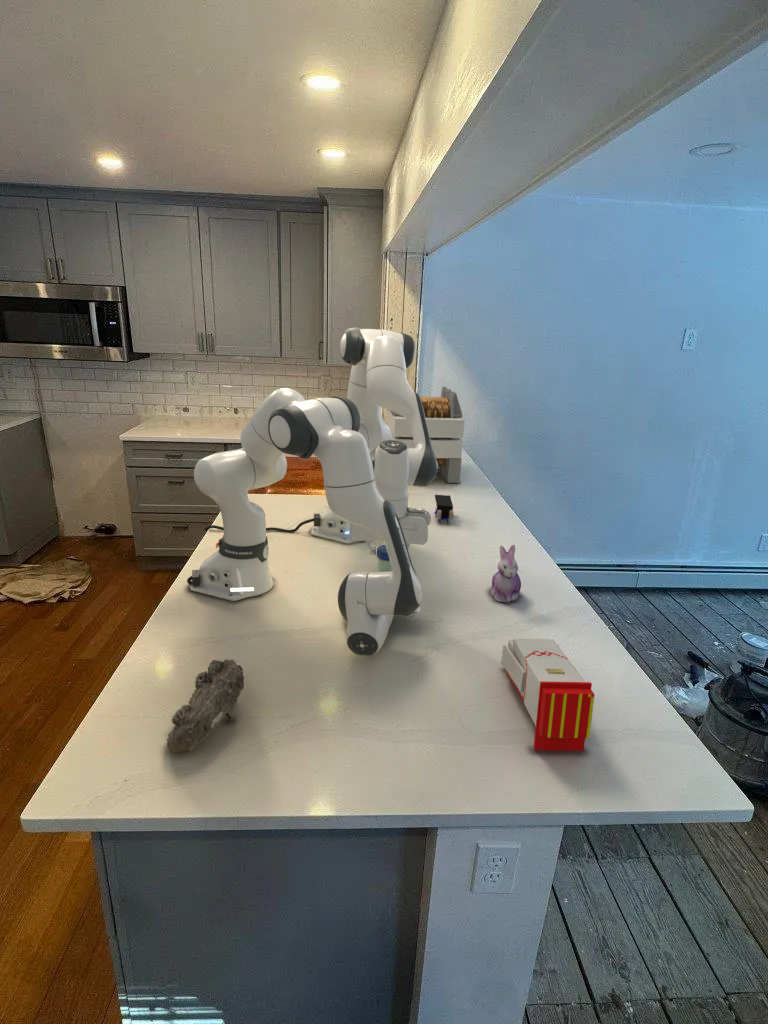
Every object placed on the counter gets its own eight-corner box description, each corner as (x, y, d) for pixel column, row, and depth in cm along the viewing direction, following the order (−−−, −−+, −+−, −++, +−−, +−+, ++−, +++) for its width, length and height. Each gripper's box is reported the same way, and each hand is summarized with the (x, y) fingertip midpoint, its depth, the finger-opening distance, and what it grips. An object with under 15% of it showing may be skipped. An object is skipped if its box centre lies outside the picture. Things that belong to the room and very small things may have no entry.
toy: (549, 621, 128) (604, 690, 99) (544, 676, 131) (595, 758, 101) (496, 620, 128) (535, 688, 98) (492, 675, 130) (528, 757, 101)
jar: (375, 599, 154) (377, 547, 149) (393, 599, 155) (396, 547, 150) (376, 608, 150) (379, 555, 145) (395, 608, 150) (398, 555, 145)
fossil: (192, 660, 117) (244, 628, 112) (224, 691, 120) (276, 661, 115) (142, 746, 98) (202, 712, 93) (182, 779, 101) (242, 748, 96)
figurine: (503, 606, 153) (510, 556, 148) (480, 590, 162) (486, 542, 156) (530, 600, 157) (537, 550, 152) (507, 584, 166) (513, 537, 161)
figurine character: (453, 528, 210) (448, 510, 224) (455, 510, 207) (450, 493, 220) (435, 528, 210) (432, 510, 223) (437, 509, 207) (433, 492, 220)
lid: (374, 558, 146) (374, 551, 145) (379, 549, 151) (380, 543, 150) (396, 561, 144) (396, 554, 144) (401, 553, 150) (401, 546, 149)
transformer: (382, 463, 289) (386, 382, 275) (445, 464, 293) (451, 384, 279) (390, 482, 257) (394, 392, 243) (460, 483, 261) (468, 394, 247)
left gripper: (419, 604, 136) (426, 579, 149) (336, 593, 139) (350, 570, 152) (417, 627, 138) (424, 600, 151) (336, 616, 141) (349, 590, 154)
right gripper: (432, 505, 145) (428, 555, 149) (353, 498, 147) (352, 547, 152) (430, 513, 139) (426, 565, 143) (348, 506, 141) (347, 557, 146)
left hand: (386, 585), depth 151 cm, fingers closed on jar, 5 cm apart
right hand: (387, 556), depth 148 cm, fingers open, 6 cm apart
